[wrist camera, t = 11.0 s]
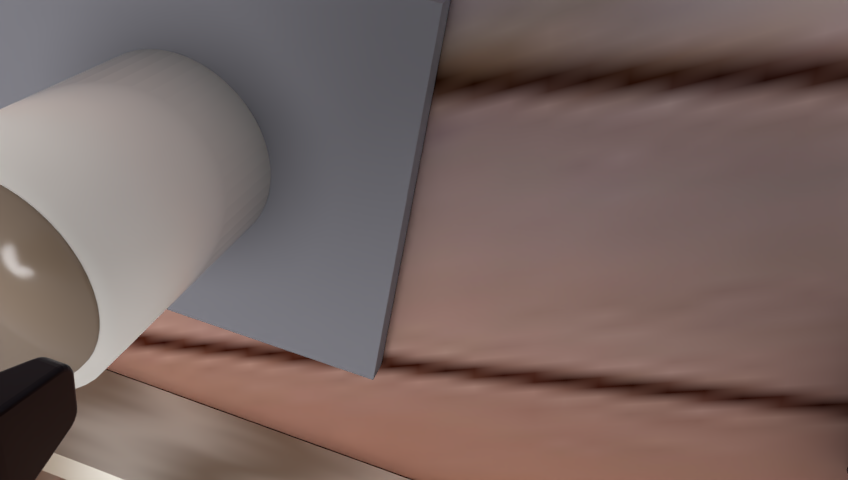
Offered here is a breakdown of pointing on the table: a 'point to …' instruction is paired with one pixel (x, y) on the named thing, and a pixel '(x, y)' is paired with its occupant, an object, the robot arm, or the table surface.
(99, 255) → the pot
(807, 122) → the table surface
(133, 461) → the beige square frame
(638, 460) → the table surface
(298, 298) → the mat
